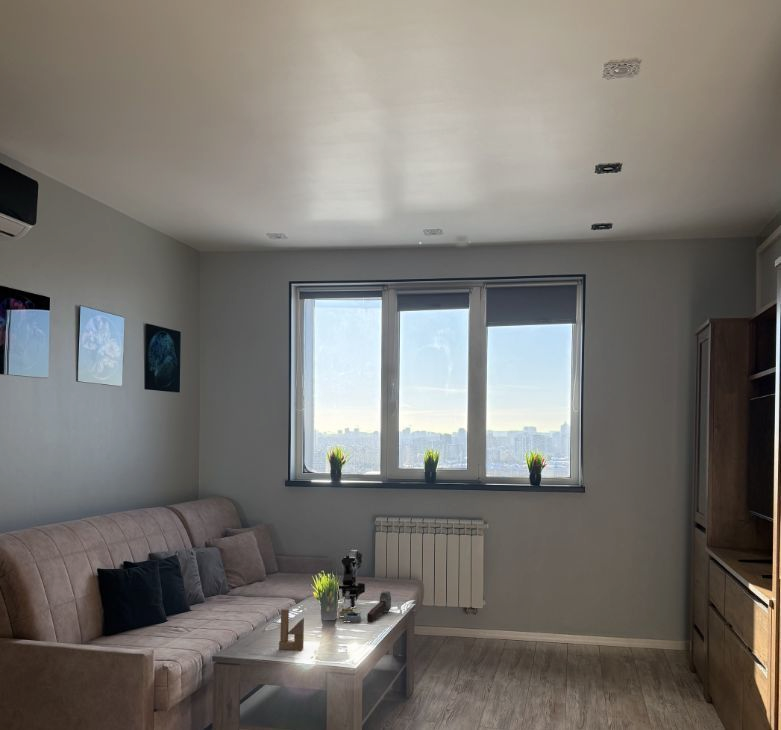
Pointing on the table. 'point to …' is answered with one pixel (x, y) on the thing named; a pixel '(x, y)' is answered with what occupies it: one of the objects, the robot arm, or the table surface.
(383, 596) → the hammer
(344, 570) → the robot arm
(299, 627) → the wooden block
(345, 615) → the socket
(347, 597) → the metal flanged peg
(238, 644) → the table surface
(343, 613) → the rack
